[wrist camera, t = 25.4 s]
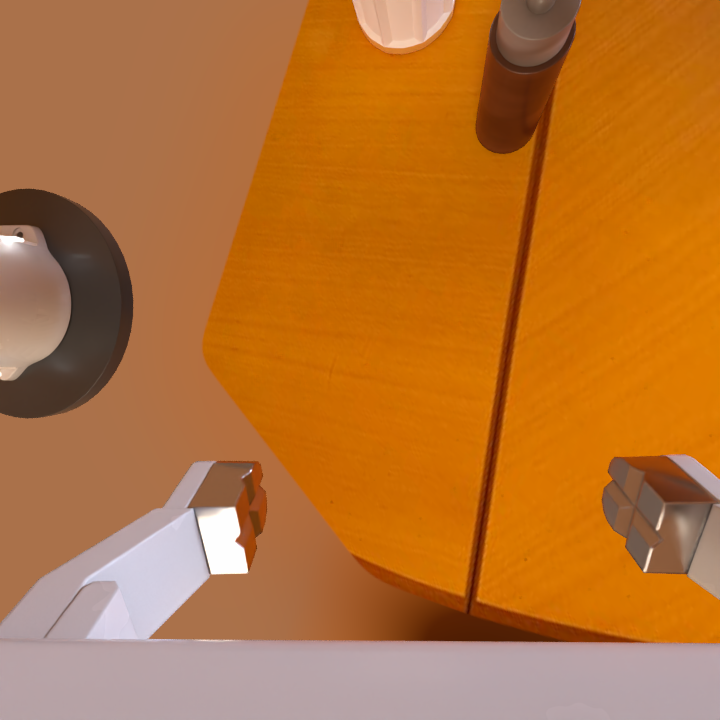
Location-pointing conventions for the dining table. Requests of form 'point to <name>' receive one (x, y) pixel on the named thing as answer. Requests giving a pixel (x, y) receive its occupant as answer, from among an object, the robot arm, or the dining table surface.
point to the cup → (403, 22)
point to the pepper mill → (522, 69)
